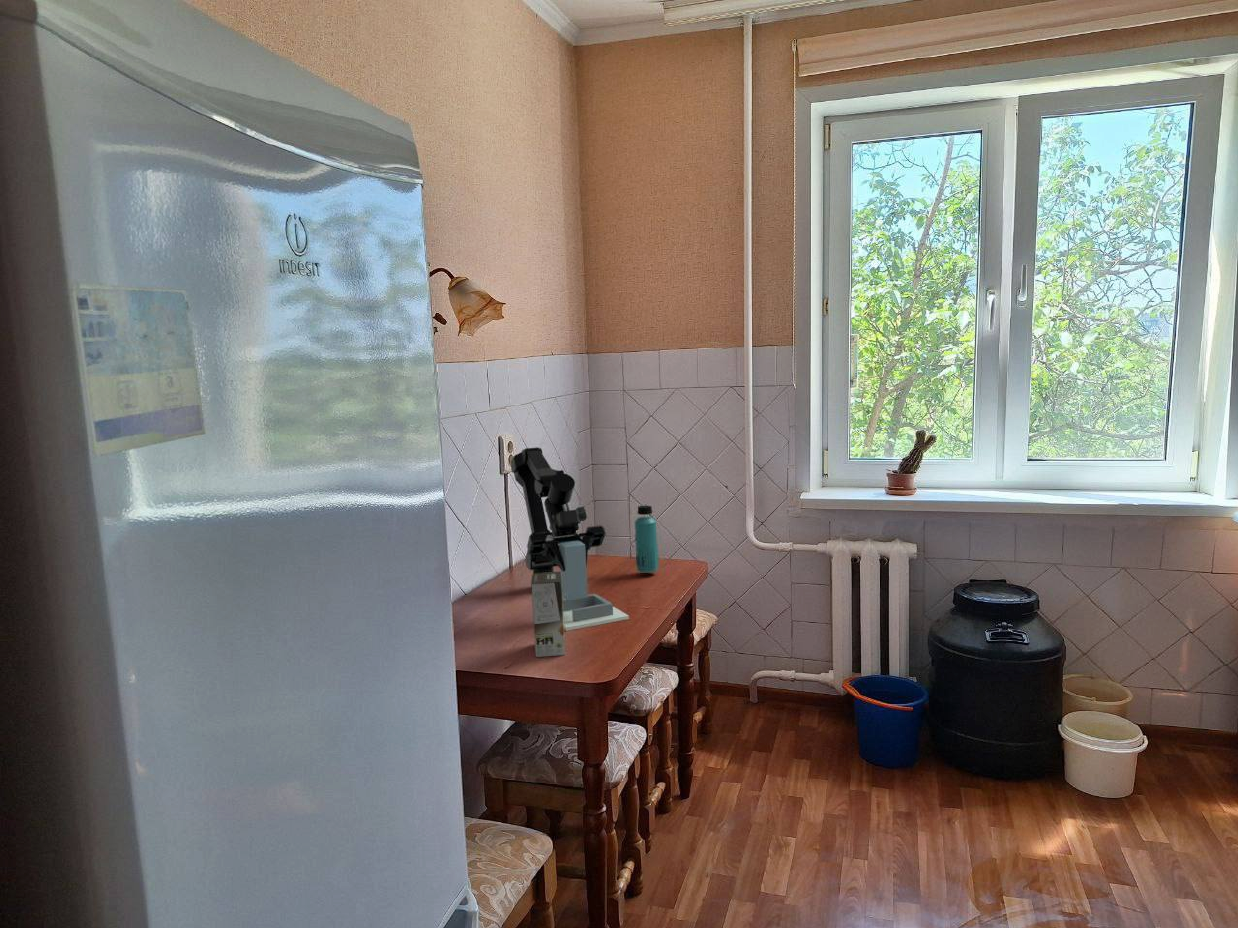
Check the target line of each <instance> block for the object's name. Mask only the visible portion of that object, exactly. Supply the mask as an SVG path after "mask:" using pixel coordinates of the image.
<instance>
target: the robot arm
mask: <svg viewBox="0 0 1238 928" xmlns="http://www.w3.org/2000/svg"><path fill="white" fill-rule="evenodd" d="M510 469H511V472H512V473H513V476H514V481H516V482H517V483H518V484H519V486H520V487H522V489H523V496H524V500H525V507H526V511H527V515H528V516H527V517H528V522H529V527H530V532H531V533H530V535H529V537H528V541H527V544H526V547H527V551H526V555H525V567H526V568H528V570H529V571H532V575H533V574H535V573H545V572H555V571H554V570H555V569H554V567H558V568H559V569H560V571H561V570H562V571H563V572H564V571H565V566H564V562H563V559H562V557H561V554H560V551H559V543H564V542H572V541H580V542H582V543H583V544H585V551H586V568H587V566H588V553H589V552H588V551H590V550H591V548H594V547H600V546H601V545H603V543H604V540H605V536H606V534H607V533H606V530H605V528H604V526H602V525H598V524H597V525H591V526H587V527H586V530H585V532H581V533H577V531H579V528H580V527H579V526H580V525H579V524H581V522H585V521H586V520H587V518H588V517H587V511H586V509H585V506H577V508H576V509H570V506H569V503H570V502H571V499H572V496H573V492H574V489H575V485H576V481H575V479H574V478H573V477H572V476H571V475H569V474H567V473H565V472H564V470H563V469H561V470H557V469H553V468H552V467H551V466H550V464H549V462H548V461H547V459H546V457H545V456H544V454H543V450H542V448H541V447H538V446H537V447H536V446H535V447H525V449H524V448H523V449H522V450H521V452H518V453H517V454H515V455H514V456H513V457H512V459H511V461H510ZM542 498H545V499H544V502H543V499H542ZM544 507H545V508H544ZM545 512H546V513H545ZM546 515H547V518H548V522H549V529H548V525H547V524H548V523H547V519H546Z"/></svg>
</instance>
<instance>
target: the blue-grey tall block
mask: <svg viewBox="0 0 1238 928" xmlns="http://www.w3.org/2000/svg"><path fill="white" fill-rule="evenodd" d="M558 545H559V551H560V554H561V557H562V559H563V562H564V566H565V571H564V572H563V571H562V570H561V569H560V572H561V584H562V598H563V599H566V600H568V601H570V600H577V599H583V598H588V595H589V593H588V590H589V589H588V575H587V574H588V573H587V567H586V551H585V544H583V543H582V542H580V541H572V542H564V543H559V544H558Z"/></svg>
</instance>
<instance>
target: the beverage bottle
mask: <svg viewBox="0 0 1238 928" xmlns="http://www.w3.org/2000/svg"><path fill="white" fill-rule="evenodd" d="M651 514H653V509H652V506H651V505H640V506H638V507H637V515H642V516H639V517H638V518H636V520H634V530H635V532H634V537H635V538H634V540H635V560H636V561H635V563H636V566H635V567H636V570H637V572H641V573H652V572H653V573H654V572H656V571H658V570H659V566H660V564H659V550H658V549H659V548H658V534H657V533H658V532H657V520H656V519H655V518H654V517H653V516H645V515H651Z"/></svg>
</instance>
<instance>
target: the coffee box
mask: <svg viewBox="0 0 1238 928" xmlns="http://www.w3.org/2000/svg"><path fill="white" fill-rule="evenodd" d="M530 586H531V597H532V598H531V599H532V615H533V616H532V617H533V630H534V632H533V633H534V648H535V651H534V652H535V657H536V658H540V657H541V658H542V657H544V658H545V657H554V656H555V657H558V656H564V655H565V630H564V617H563V600H562V599H563V596H562V584H561V571H554V572H545V573H535V574H533V573H532V575H531V581H530Z"/></svg>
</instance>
